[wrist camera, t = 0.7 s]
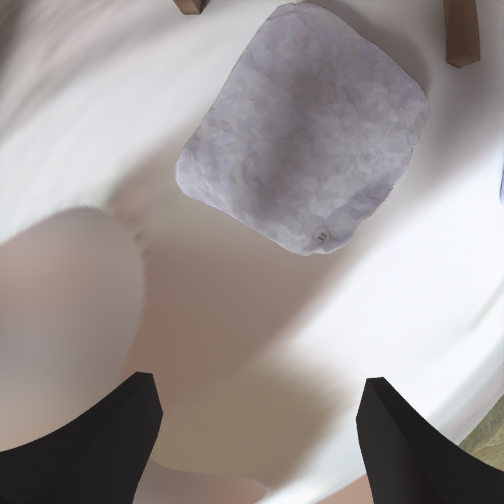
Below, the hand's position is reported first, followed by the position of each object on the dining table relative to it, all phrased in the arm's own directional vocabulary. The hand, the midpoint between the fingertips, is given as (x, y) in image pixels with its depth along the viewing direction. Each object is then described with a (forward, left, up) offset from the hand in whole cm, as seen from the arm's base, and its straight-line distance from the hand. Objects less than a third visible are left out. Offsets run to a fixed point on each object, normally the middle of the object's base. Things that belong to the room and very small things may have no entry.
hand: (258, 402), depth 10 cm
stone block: (-1, -9, -10) cm, 14 cm away
